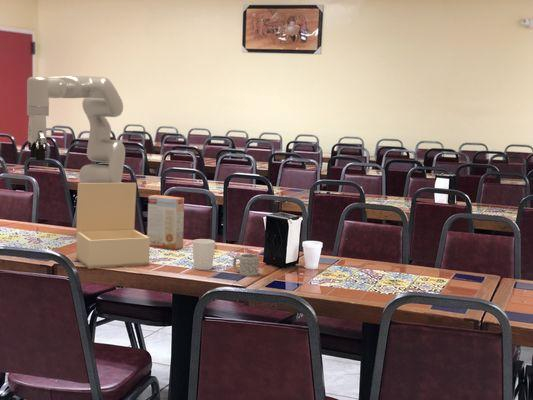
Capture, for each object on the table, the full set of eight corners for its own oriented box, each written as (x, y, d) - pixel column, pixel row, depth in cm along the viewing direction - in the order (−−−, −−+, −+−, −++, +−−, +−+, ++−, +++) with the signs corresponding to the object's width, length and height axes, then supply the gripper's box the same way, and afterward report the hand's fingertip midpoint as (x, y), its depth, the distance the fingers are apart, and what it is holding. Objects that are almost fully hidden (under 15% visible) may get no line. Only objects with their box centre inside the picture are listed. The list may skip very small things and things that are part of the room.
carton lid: (76, 231, 282) (72, 227, 287) (134, 229, 292) (129, 225, 297) (78, 183, 279) (74, 180, 284) (136, 182, 289) (131, 180, 294)
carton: (76, 258, 283) (76, 231, 282) (133, 255, 294) (134, 229, 292) (88, 268, 268) (89, 240, 266) (149, 265, 278) (149, 238, 276)
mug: (261, 274, 272) (262, 255, 271) (251, 277, 266) (252, 258, 265) (238, 269, 277) (238, 251, 276) (227, 273, 271) (228, 254, 270)
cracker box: (183, 248, 312) (185, 197, 309) (175, 250, 306) (176, 198, 303) (155, 244, 318) (156, 194, 315) (146, 246, 312) (147, 195, 310)
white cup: (200, 264, 282) (201, 238, 281) (218, 268, 278) (219, 241, 277) (187, 268, 275) (188, 241, 274) (205, 271, 272) (206, 243, 270)
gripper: (22, 110, 282) (22, 157, 284) (31, 112, 266) (31, 161, 269) (43, 111, 285) (43, 157, 287) (53, 112, 270) (53, 161, 272)
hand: (37, 159), depth 278 cm, fingers open, 9 cm apart
